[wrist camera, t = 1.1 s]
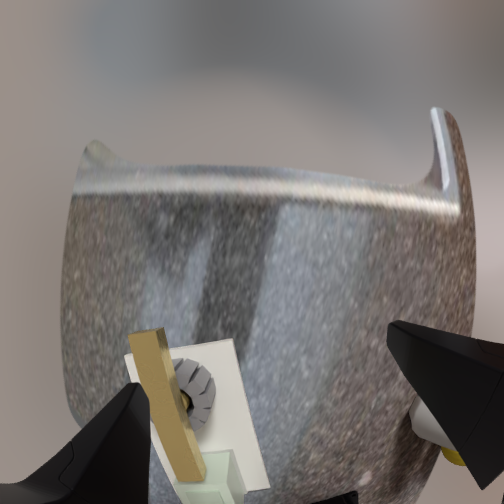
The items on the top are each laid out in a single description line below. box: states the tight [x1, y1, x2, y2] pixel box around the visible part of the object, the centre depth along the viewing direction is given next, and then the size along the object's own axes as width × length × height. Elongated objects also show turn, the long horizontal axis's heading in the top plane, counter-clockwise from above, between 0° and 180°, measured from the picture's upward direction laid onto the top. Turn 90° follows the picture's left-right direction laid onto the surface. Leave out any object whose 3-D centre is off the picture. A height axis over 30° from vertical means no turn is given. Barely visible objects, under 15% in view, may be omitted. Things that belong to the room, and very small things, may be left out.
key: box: [128, 327, 207, 482], centre depth 19 cm, size 12×2×6 cm, turn 12°
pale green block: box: [173, 452, 244, 504], centre depth 18 cm, size 6×4×5 cm
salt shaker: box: [409, 395, 457, 451], centre depth 16 cm, size 6×6×13 cm
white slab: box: [124, 338, 270, 495], centre depth 20 cm, size 17×10×5 cm, turn 12°
